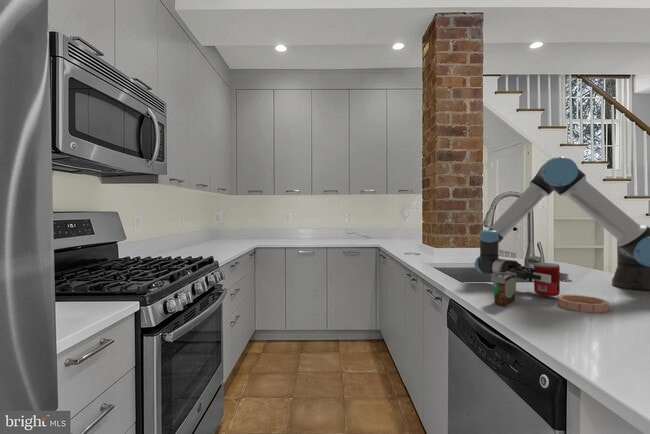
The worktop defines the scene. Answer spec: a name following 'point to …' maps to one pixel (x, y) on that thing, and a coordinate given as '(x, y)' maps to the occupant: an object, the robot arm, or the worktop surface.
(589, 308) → the ring dish
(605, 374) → the worktop surface
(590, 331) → the worktop surface
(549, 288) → the canned food
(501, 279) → the food container
